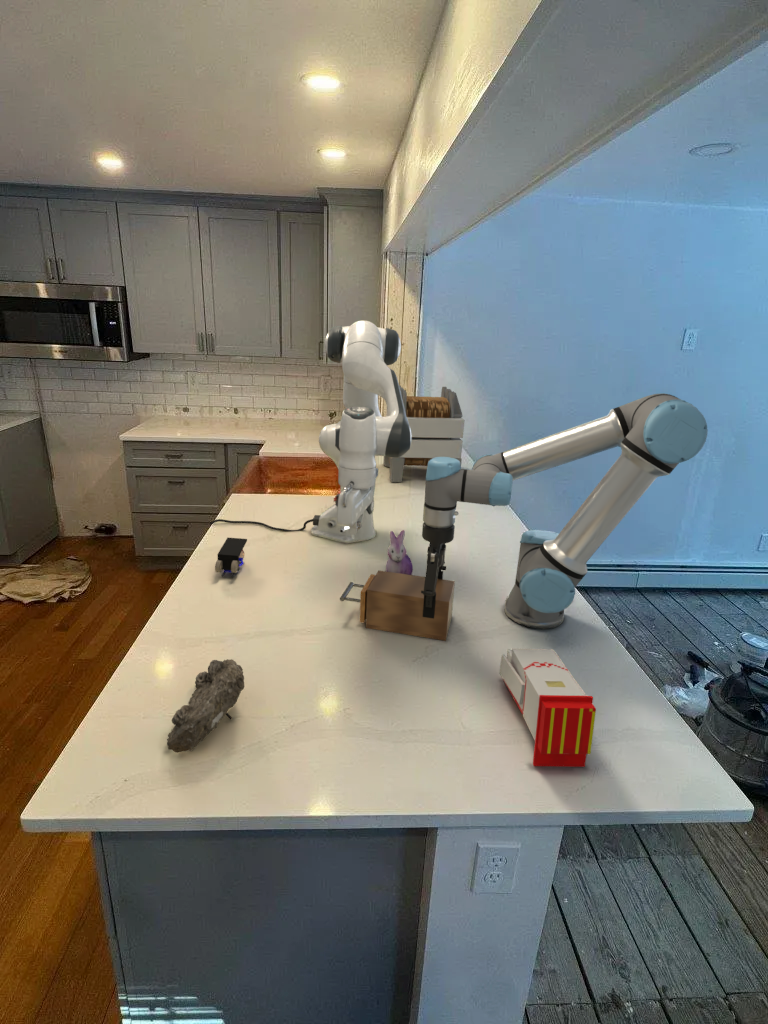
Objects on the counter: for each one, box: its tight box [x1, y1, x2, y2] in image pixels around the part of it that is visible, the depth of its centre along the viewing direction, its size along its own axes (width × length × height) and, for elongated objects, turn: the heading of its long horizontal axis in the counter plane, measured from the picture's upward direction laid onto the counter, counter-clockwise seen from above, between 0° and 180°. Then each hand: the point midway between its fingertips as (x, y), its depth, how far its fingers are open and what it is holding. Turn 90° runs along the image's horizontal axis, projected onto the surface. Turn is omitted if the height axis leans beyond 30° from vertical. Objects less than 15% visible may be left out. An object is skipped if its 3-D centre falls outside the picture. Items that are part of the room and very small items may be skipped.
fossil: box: [166, 658, 245, 754], centre depth 106 cm, size 22×10×15 cm
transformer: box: [383, 384, 465, 483], centre depth 268 cm, size 34×33×41 cm
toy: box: [499, 648, 597, 768], centre depth 111 cm, size 12×13×30 cm
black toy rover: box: [214, 537, 248, 578], centre depth 166 cm, size 7×8×15 cm
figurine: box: [385, 529, 414, 575], centre depth 164 cm, size 9×10×15 cm
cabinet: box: [365, 570, 456, 642], centre depth 142 cm, size 20×11×11 cm, turn 77°
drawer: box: [339, 573, 376, 624], centre depth 143 cm, size 24×10×8 cm, turn 77°
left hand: (355, 530), depth 139 cm, fingers closed
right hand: (432, 605), depth 141 cm, fingers closed on cabinet, 11 cm apart
